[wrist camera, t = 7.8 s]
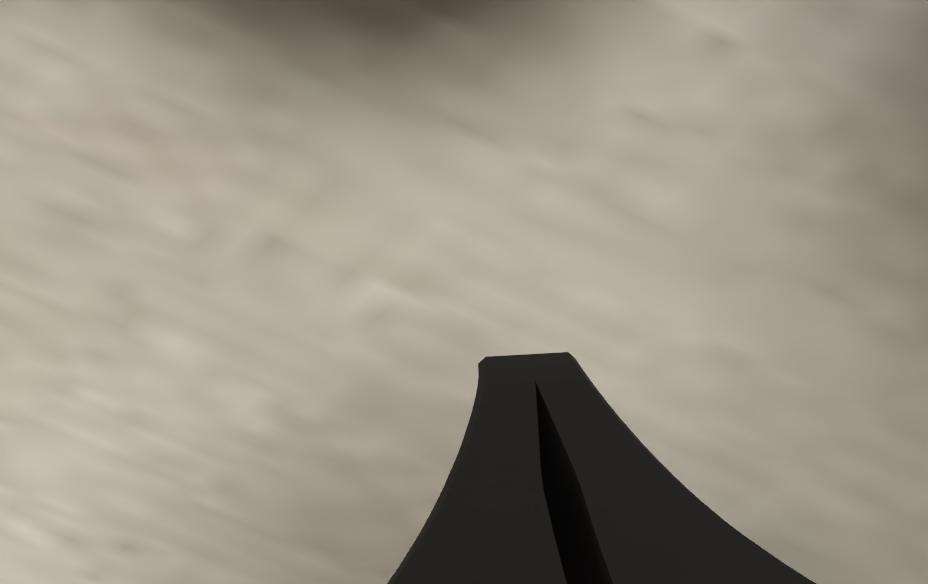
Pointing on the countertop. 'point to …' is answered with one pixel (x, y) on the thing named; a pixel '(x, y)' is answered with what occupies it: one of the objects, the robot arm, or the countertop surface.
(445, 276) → the countertop surface
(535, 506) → the robot arm
